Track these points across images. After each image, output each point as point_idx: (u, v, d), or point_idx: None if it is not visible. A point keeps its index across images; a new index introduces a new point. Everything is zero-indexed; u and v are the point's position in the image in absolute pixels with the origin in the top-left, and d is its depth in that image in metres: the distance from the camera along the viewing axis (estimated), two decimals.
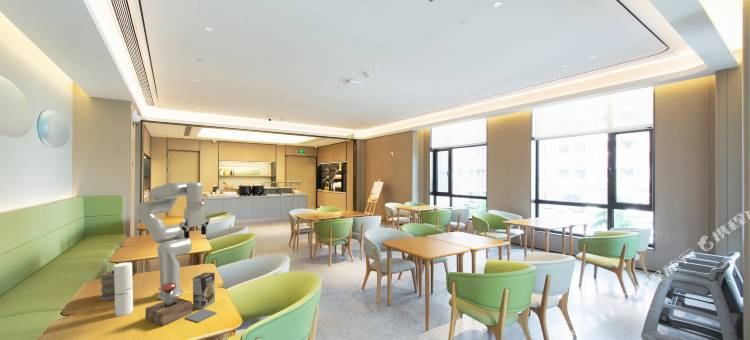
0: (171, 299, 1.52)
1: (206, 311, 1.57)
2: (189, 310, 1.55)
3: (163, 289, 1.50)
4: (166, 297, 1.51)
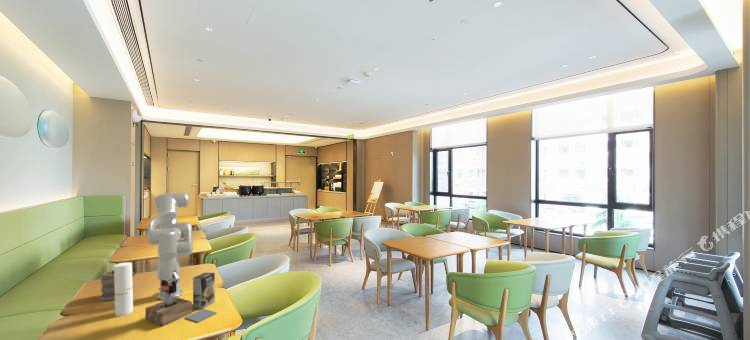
0: (171, 299, 1.52)
1: (206, 311, 1.57)
2: (189, 310, 1.55)
3: (163, 289, 1.50)
4: (166, 297, 1.51)
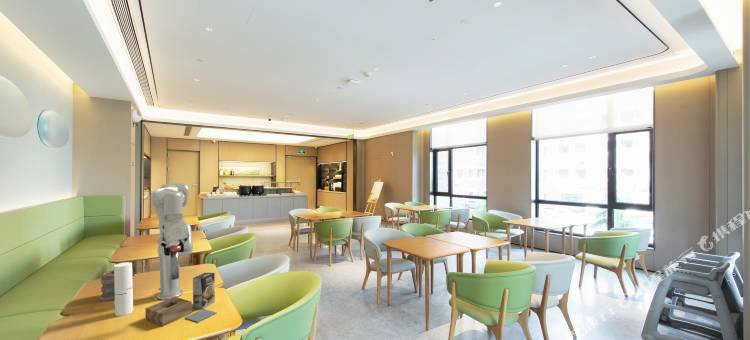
0: None
1: (206, 311, 1.57)
2: (189, 310, 1.55)
3: (179, 248, 1.51)
4: (177, 257, 1.52)
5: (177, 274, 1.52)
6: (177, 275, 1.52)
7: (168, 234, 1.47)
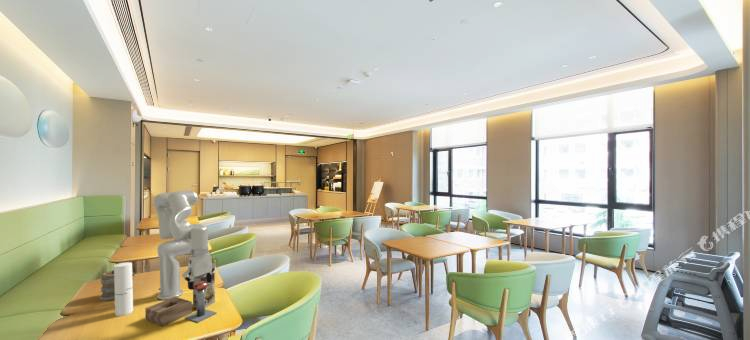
0: None
1: (206, 311, 1.57)
2: (189, 310, 1.55)
3: (205, 286, 1.52)
4: (204, 294, 1.53)
5: (204, 310, 1.53)
6: (203, 312, 1.53)
7: (195, 269, 1.48)
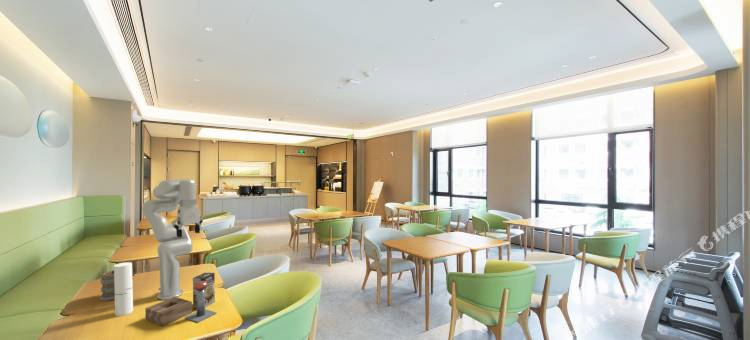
0: None
1: (206, 311, 1.57)
2: (189, 310, 1.55)
3: (205, 285, 1.52)
4: (204, 294, 1.53)
5: (204, 310, 1.53)
6: (203, 312, 1.53)
7: (183, 218, 1.59)
